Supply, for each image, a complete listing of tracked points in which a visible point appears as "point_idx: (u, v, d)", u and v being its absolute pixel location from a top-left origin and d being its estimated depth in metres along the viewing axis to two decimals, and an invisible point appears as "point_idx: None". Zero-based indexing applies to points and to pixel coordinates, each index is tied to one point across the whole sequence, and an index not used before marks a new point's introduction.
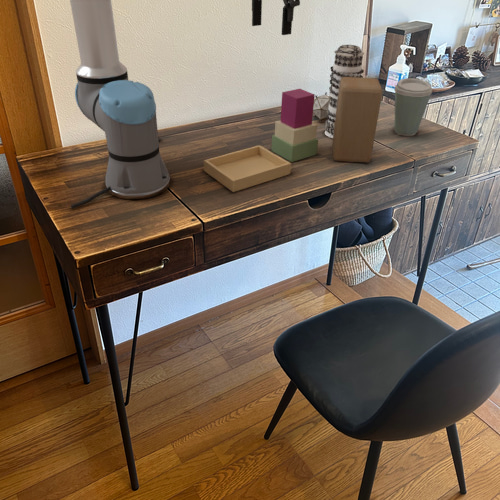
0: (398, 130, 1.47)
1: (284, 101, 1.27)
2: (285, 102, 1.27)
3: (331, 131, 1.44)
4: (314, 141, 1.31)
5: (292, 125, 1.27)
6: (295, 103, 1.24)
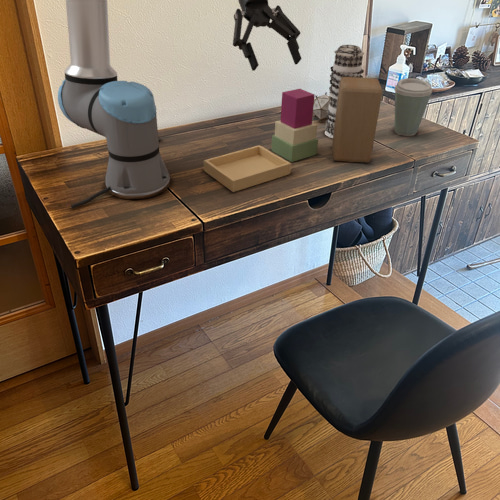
0: (398, 130, 1.47)
1: (284, 101, 1.27)
2: (285, 102, 1.27)
3: (331, 131, 1.44)
4: (314, 141, 1.31)
5: (292, 125, 1.27)
6: (295, 103, 1.24)
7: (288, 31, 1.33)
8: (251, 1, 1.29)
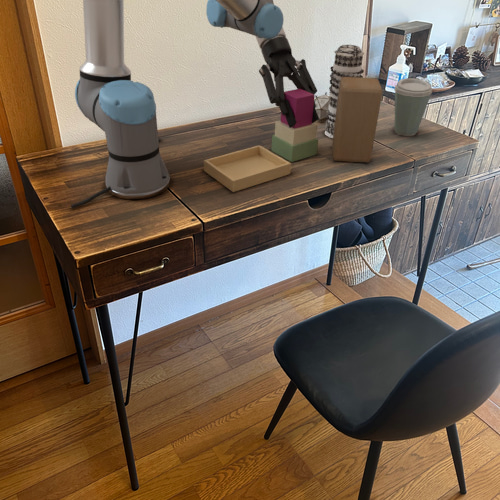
0: (398, 130, 1.47)
1: None
2: None
3: (331, 131, 1.44)
4: (314, 141, 1.31)
5: None
6: (294, 102, 1.23)
7: (306, 88, 1.28)
8: (275, 52, 1.26)
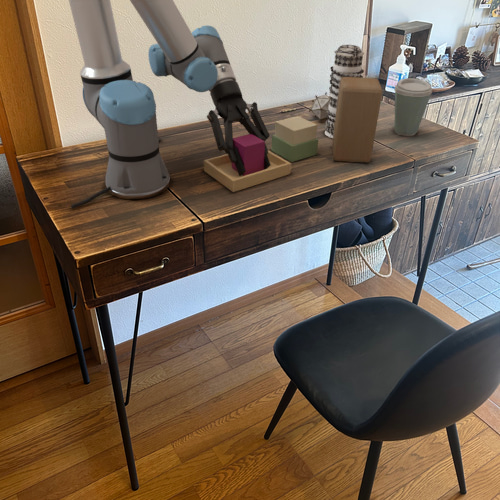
0: (398, 130, 1.47)
1: None
2: None
3: (331, 131, 1.44)
4: (314, 141, 1.31)
5: None
6: (243, 151, 1.17)
7: (257, 133, 1.22)
8: (223, 97, 1.20)
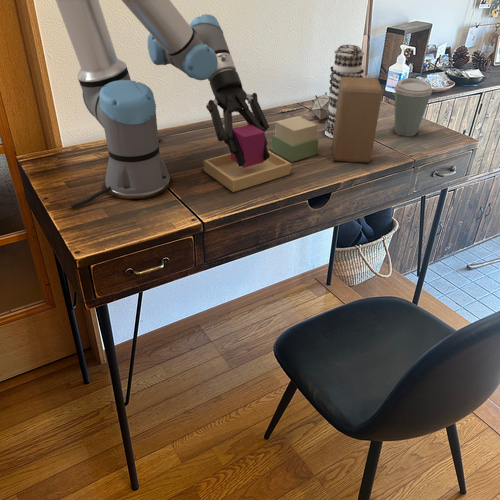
0: (398, 130, 1.47)
1: None
2: None
3: (331, 131, 1.44)
4: (314, 141, 1.31)
5: None
6: (242, 141, 1.16)
7: (256, 124, 1.21)
8: (223, 87, 1.18)
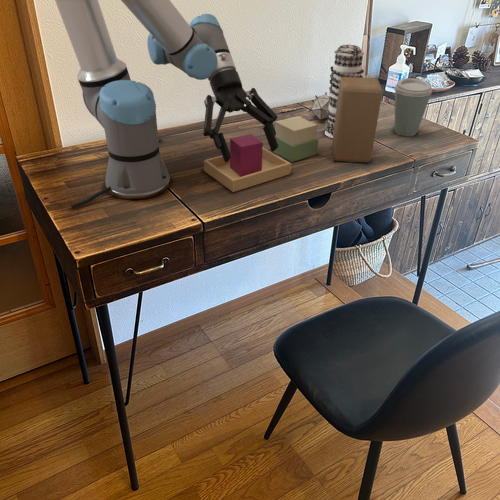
0: (398, 130, 1.47)
1: (232, 147, 1.21)
2: (232, 149, 1.21)
3: (331, 131, 1.44)
4: (314, 141, 1.31)
5: (239, 172, 1.21)
6: (239, 151, 1.17)
7: (264, 116, 1.22)
8: (223, 86, 1.18)
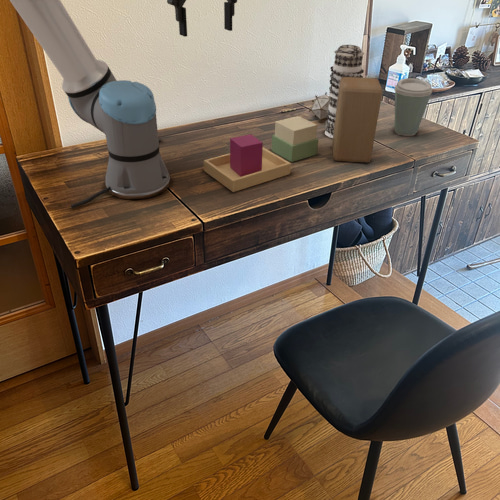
0: (398, 130, 1.47)
1: (232, 147, 1.21)
2: (232, 149, 1.21)
3: (331, 131, 1.44)
4: (314, 141, 1.31)
5: (239, 172, 1.21)
6: (239, 151, 1.17)
7: None
8: None
